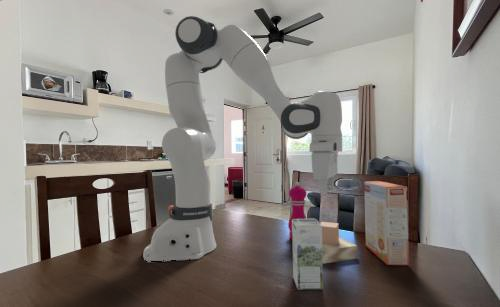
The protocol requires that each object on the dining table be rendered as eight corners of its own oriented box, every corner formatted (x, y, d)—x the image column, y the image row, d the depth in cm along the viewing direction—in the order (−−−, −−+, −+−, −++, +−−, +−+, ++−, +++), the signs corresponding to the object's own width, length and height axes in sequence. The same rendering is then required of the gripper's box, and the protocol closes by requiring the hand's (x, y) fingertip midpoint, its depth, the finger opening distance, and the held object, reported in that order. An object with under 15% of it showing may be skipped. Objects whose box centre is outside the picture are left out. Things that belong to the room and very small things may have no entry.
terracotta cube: (336, 245, 70) (336, 227, 70) (319, 242, 72) (318, 225, 72) (338, 239, 74) (338, 223, 74) (322, 237, 77) (321, 221, 77)
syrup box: (316, 277, 59) (314, 217, 59) (323, 290, 53) (322, 224, 53) (292, 277, 59) (291, 217, 59) (297, 291, 53) (295, 224, 53)
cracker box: (410, 266, 63) (408, 186, 64) (386, 266, 64) (384, 186, 64) (384, 246, 77) (382, 180, 78) (365, 246, 78) (363, 180, 78)
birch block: (323, 265, 66) (322, 250, 66) (304, 250, 77) (303, 237, 77) (357, 259, 69) (357, 245, 69) (334, 246, 80) (334, 233, 80)
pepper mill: (310, 242, 83) (308, 183, 83) (288, 241, 84) (287, 183, 84) (308, 235, 90) (307, 180, 90) (288, 234, 91) (287, 180, 91)
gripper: (322, 147, 84) (322, 187, 84) (307, 145, 66) (307, 196, 66) (342, 146, 81) (342, 188, 81) (332, 144, 63) (332, 198, 63)
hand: (326, 192), depth 73 cm, fingers open, 8 cm apart
